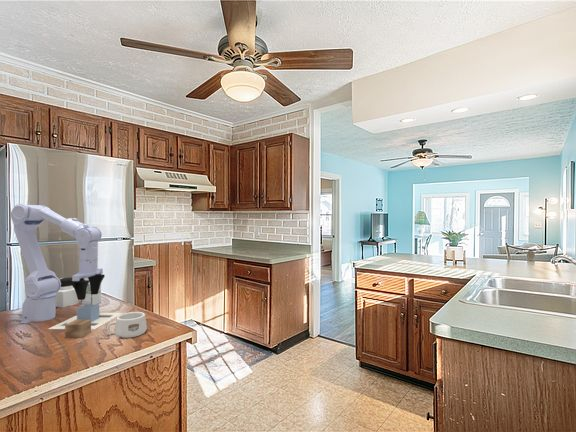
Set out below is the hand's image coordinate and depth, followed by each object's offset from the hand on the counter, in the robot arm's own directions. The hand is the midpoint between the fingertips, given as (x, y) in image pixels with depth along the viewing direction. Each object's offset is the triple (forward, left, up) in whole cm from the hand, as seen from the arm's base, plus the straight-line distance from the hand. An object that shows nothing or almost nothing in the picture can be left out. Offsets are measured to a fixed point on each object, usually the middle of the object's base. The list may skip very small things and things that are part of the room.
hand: (88, 296), depth 114 cm
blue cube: (0, 0, -9) cm, 9 cm away
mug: (+20, -11, -10) cm, 25 cm away
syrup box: (-14, +24, -10) cm, 29 cm away
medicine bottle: (-24, +22, -10) cm, 34 cm away
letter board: (0, 0, -10) cm, 10 cm away
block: (+6, -14, -10) cm, 18 cm away
